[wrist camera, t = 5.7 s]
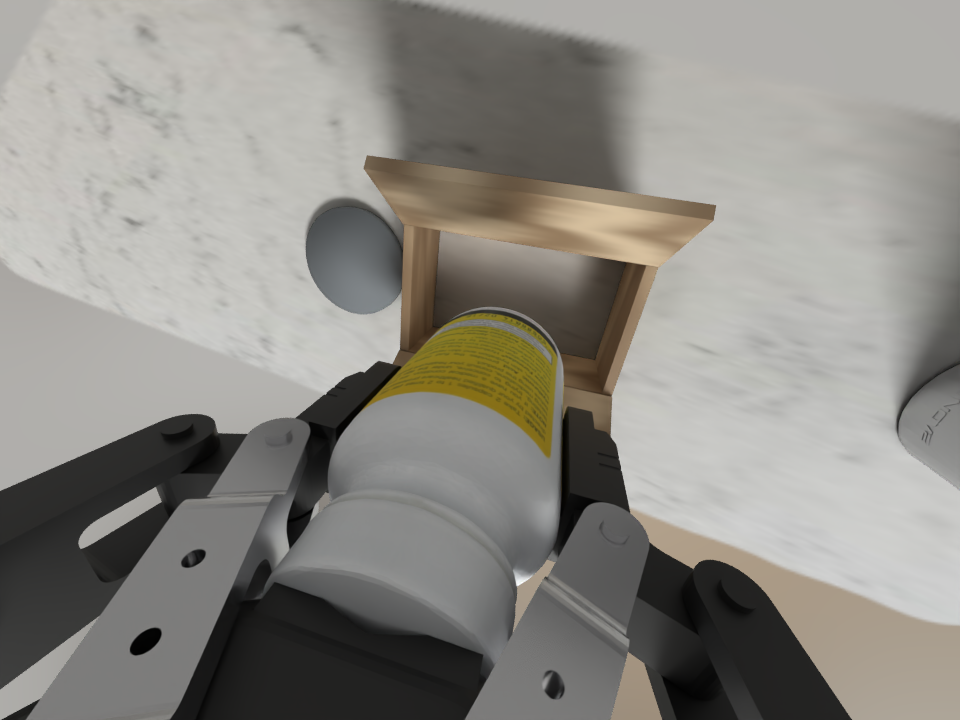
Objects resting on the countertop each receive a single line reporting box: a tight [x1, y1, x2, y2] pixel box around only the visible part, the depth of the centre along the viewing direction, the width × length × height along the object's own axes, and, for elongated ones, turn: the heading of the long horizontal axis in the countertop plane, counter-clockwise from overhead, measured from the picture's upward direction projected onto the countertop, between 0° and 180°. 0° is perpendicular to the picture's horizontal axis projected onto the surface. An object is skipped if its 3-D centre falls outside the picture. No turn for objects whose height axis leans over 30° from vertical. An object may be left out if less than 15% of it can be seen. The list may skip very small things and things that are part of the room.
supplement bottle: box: [262, 307, 564, 679], centre depth 9 cm, size 5×5×10 cm
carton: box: [364, 155, 716, 436], centre depth 21 cm, size 14×14×10 cm
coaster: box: [306, 207, 403, 314], centre depth 26 cm, size 8×8×1 cm
